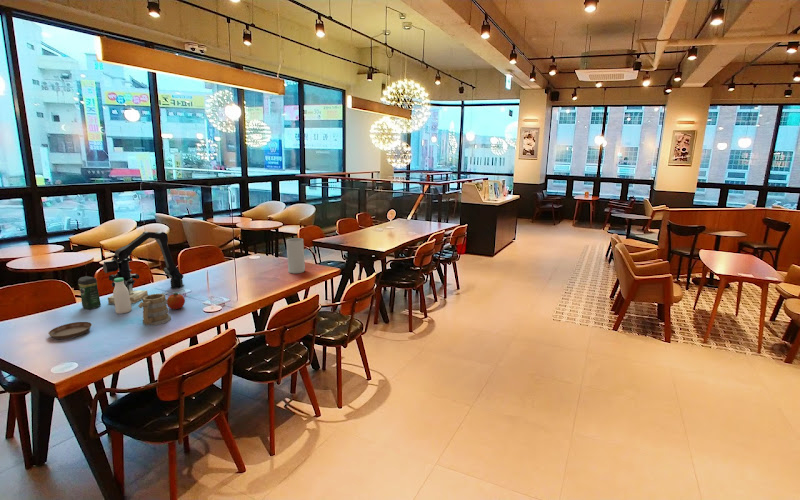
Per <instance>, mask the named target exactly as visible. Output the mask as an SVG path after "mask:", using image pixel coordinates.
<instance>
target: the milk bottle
mask: <svg viewBox="0 0 800 500" xmlns="http://www.w3.org/2000/svg"><path fill="white" fill-rule="evenodd" d="M113 282H114V283H115V287H113V288H114V289H113V292H112V295H113V297H114V303H113V304H114V308H115V309H114V310H115V313H116V314H120V315H121V314H126V313H129V312H131V311H132V303H131V302H130V296H129V291H128V289H127V287H126V286H125V285H124V278H115V279H114V281H113Z"/></svg>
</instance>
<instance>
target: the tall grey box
mask: <svg viewBox="0 0 800 500" xmlns="http://www.w3.org/2000/svg"><path fill="white" fill-rule="evenodd" d="M127 284H129V287H128V291H129V295H132V294H133V291H134V289H133V287H132V283H127Z"/></svg>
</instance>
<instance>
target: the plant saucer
mask: <svg viewBox="0 0 800 500" xmlns="http://www.w3.org/2000/svg"><path fill="white" fill-rule="evenodd" d="M92 325H93V323H91V321H90V322H89V321H75V322H71V323H65V324H62V325H60V326H56V327H54V328H52V329H51V330H49V331H48V336H49V337H51V338H53V339H55V340H68V339H74V338H77V337H80V336H82V335H85V334H86V333H88V331H89V330H90V329H91V328H92Z"/></svg>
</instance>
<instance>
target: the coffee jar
mask: <svg viewBox="0 0 800 500" xmlns="http://www.w3.org/2000/svg"><path fill="white" fill-rule="evenodd" d="M77 285H78V287H79V292H80V299H81V307H82V308H83V309H86V310H90V309H97V308H99V307H101V299H100V293H99V288H98V279H97V277H93V276H88V275H86V276H81V277H79V279H78V280H77Z"/></svg>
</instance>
